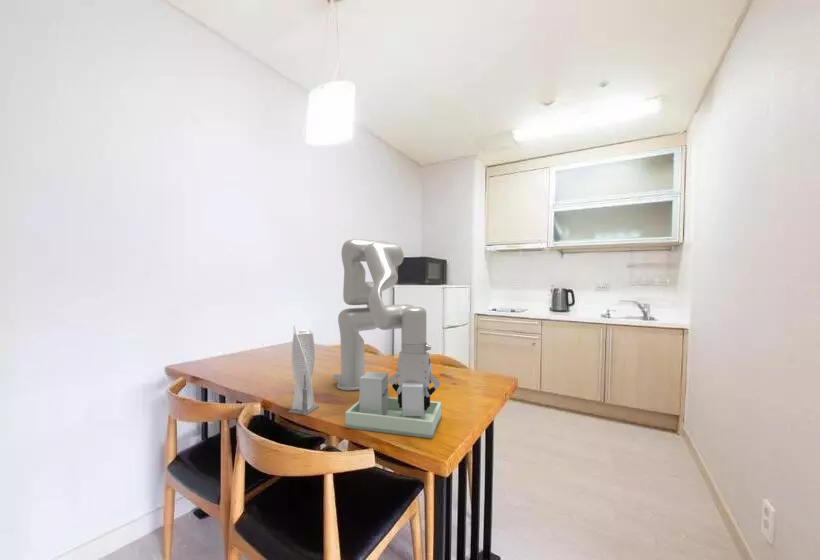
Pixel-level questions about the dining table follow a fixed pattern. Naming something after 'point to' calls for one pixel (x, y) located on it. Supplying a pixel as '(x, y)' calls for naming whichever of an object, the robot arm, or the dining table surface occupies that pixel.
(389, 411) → the tray
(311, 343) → the skyscraper
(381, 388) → the supplement box
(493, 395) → the dining table surface
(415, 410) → the skincare box
